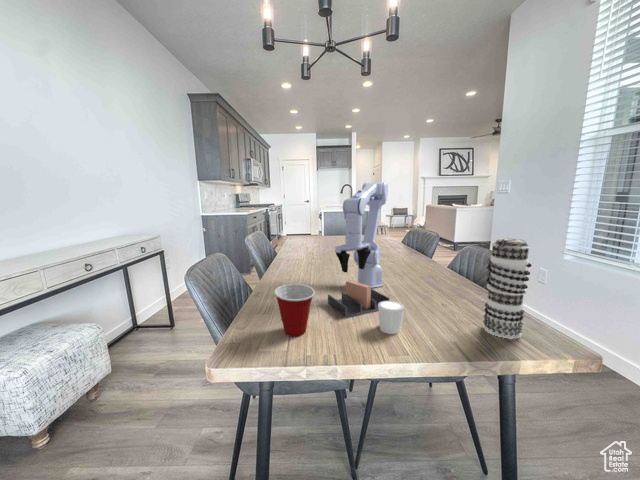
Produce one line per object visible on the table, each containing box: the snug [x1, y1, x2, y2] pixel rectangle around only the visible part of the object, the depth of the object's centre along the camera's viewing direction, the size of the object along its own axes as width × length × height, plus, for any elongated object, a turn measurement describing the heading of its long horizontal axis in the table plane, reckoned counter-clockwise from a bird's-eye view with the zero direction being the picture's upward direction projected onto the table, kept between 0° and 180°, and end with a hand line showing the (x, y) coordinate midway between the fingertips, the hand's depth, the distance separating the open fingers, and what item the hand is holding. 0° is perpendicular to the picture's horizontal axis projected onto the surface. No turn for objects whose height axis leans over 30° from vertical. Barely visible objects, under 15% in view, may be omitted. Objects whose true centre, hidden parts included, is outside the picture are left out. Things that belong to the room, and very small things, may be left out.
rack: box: [327, 288, 391, 319], centre depth 86 cm, size 17×12×3 cm
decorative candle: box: [482, 237, 532, 339], centre depth 67 cm, size 9×9×25 cm
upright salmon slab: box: [345, 279, 372, 308], centre depth 86 cm, size 2×9×7 cm, turn 42°
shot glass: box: [377, 300, 405, 335], centre depth 71 cm, size 7×7×7 cm
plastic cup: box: [273, 283, 316, 338], centre depth 69 cm, size 11×11×12 cm
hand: (353, 270), depth 92 cm, fingers open, 7 cm apart
